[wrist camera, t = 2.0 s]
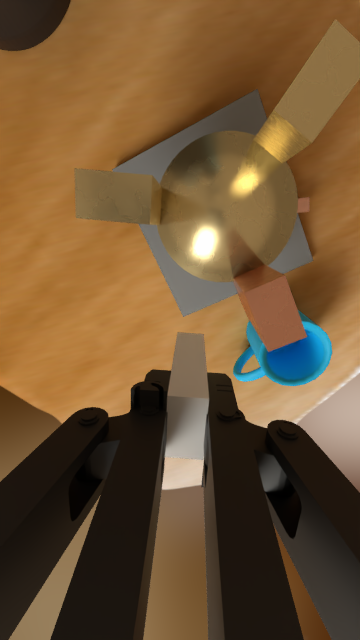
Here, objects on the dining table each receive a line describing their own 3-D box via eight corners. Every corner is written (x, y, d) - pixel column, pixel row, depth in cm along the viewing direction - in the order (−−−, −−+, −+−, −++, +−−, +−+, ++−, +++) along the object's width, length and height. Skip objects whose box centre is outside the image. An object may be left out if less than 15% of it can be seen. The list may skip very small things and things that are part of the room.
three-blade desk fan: (99, 194, 27) (55, 179, 18) (302, 83, 24) (363, 2, 15) (175, 345, 32) (169, 390, 23) (355, 271, 28) (426, 290, 20)
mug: (283, 290, 38) (306, 306, 31) (316, 333, 40) (346, 359, 32) (213, 342, 41) (218, 369, 34) (247, 381, 43) (259, 415, 35)
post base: (114, 171, 35) (89, 153, 26) (269, 85, 31) (298, 33, 23) (183, 314, 40) (180, 338, 32) (322, 254, 37) (361, 262, 28)
